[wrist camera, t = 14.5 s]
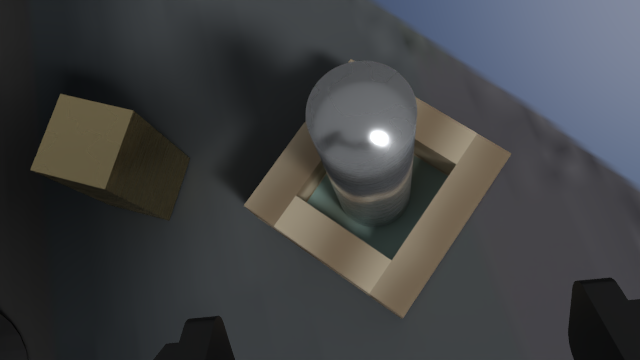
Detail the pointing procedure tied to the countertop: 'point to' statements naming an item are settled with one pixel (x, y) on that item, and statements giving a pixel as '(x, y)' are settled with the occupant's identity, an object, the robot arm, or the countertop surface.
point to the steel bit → (365, 138)
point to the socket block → (401, 235)
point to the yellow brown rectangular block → (111, 157)
